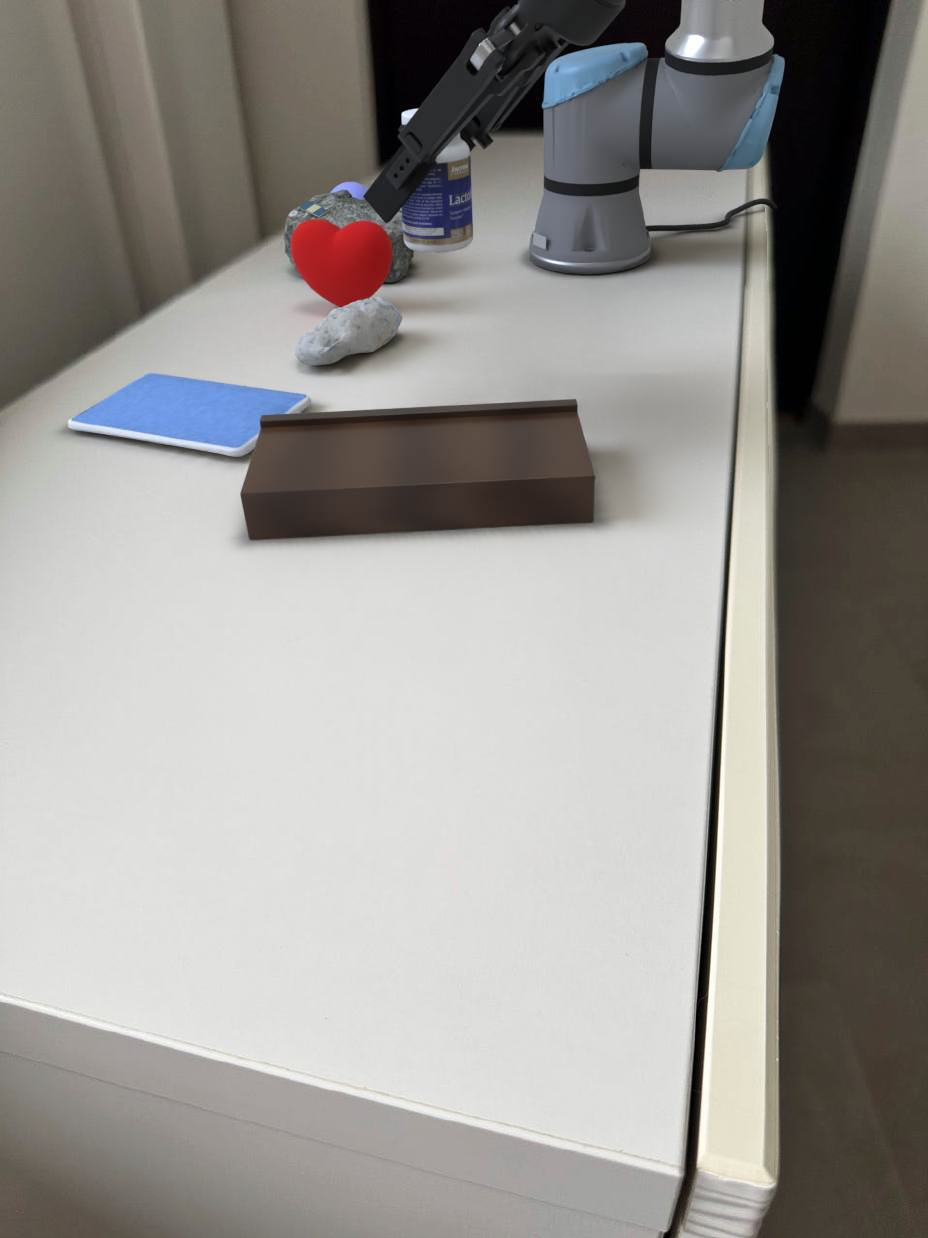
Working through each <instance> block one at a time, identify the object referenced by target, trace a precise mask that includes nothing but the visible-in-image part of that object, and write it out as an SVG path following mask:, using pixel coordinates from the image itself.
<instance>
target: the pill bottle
mask: <svg viewBox="0 0 928 1238" xmlns="http://www.w3.org/2000/svg"><path fill="white" fill-rule="evenodd" d="M418 109H419V107H418V108H412V109H407V110H404V111H402V112H401V125H402V124H405V125H406V124H407V123H408V122H409V120H410V119H411V118H412V116H413V115H414V114H415V112H416V111H417V110H418ZM436 158H437V159H436V160H435V161H436V162H437V164H436V165H435V167H434V168H433V169H432V170H431V172H430V173H429V174H428V175H427V176H426V178H425V179H424V180H423V181H422V183H421V184H420V185H419V186H418V188H417V189H416V190H415V191H414V193H413V194H412V195H411V196H410V198H409V199H408V200H407V201H406V203H405V204H404V205H403V206H402V208H401V211H402V222H403V237H404V242H405V244H406V246H407V247H408V248H410V249H412V250H414V251H415V252H417V253H418V252H419V253H427V254H443V253H451V252H455V251H456V252H457V251H459V250H462V249H465V248H467V247H469V246H470V245H471V244H472V242H473V240H474V223H473V222H474V220H473V219H474V218H473V195H472V194H473V193H472V191H473V190H472V189H473V188H472V167H471V166H472V165H471V162H472V161H471V152H470V149H469V147H468V145H467V143H466V142H465V141H463V140H462V139H461V138H460V132H459V133H458V135H457V136H456V137H455V138H454V139H453V140H452V141H451V142H450V143H449V144H448V145H447V146H446V148H445V149H444V150H443V151H442V152H441V153H440V154H439V155H438V156H437V157H436Z"/></svg>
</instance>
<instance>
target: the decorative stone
mask: <svg viewBox="0 0 928 1238" xmlns="http://www.w3.org/2000/svg"><path fill="white" fill-rule="evenodd" d="M403 319H404V318H403V315H402V314H401V312H400V311H399V310H398V308H396V306H394V304H393V303H392V302H391V301H389V300H385V299H384V298H383V297H379V296H371V297H370V298H369V299H368V298H367V299H363V300H358V301H356V302H352V303H350V304H348V305H346V306H344V307H341V308H340V307H338V306H337V307H335V308H333V309H332V310H331V311H330V312H329V313H328V315H327V316H326V317H325V318H324V320H323V321H322V322H320V324H318V325H317V326H316V327H315V329H313V330H312V331H310V332H307V333H305V334H304V335H302V336H301V337H299V339H298V341H297V345H296V347H295V358H296V359H297V361H299V362H300V363H303V364H308V365H312V366H320V365H321V366H322V365H323V366H325V365H332V364H336V363H338V362H339V361H340V360H341V359H343V358H344V357H346V356H350V355H356V354H360V353H363V354H367V353H368V354H369V353H374V352H376V350H378V349H380V348H381V347H383V346H384V345H386V344H387V343H389V342H390V341H391V340H392V339H393V337H395V336H396V335H397V333H398V331H399V328H400V325H401V324H402V322H403Z"/></svg>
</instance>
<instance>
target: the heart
mask: <svg viewBox="0 0 928 1238" xmlns="http://www.w3.org/2000/svg"><path fill="white" fill-rule="evenodd" d="M291 253H292V257H293V260H294V263H295V265H296V268H297V270H298V271H299V273H300V274H299V273H298V274H299V275H300V277H301V278H302V279H303V280H304V282H305V283H306V284H307V286H309V288H310V289H311V290H312V291H313V292H315V293H316V294H317V295H318V296H320V297H321V298H323V299H324V300H326V301H327V302H329V303H331V304H333V305H334V306H336V307H337V308H338V307H339V308H341V307H344V306H346V305H348V304H350V303H352V302H356V301H358V300H363V299H367V298H368V299H369V298H371V297H373V296H374V295H375V294H376V293H377V292H378V290H379V289H380V288H381V287H382V286H383V284H384V283H385V282H384V281H385V279H386V277H387V275H388V273H389V270H390V267H391V262H392V245H391V241H390V238H389V236H388V234H387V233H386V231H385V230H384V229H383V228H382V227H381V226H380V225H378V224H376V223H374V222H371V221H364V220H363V221H355V222H352V223H350V224H348V225H346V226H345V227H343V228H342V229H341V228H339V227H338V226H336V225H334V224H332V223H330V222H328V221H325V220H320V219H311V220H307V221H304V222H302V223H301V224H299V225H298V226H297V227H296V229H295V230H294V232H293V234H292V238H291Z"/></svg>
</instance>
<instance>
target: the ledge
mask: <svg viewBox="0 0 928 1238" xmlns="http://www.w3.org/2000/svg"><path fill="white" fill-rule="evenodd" d="M260 427H261V429H260V432H259V435H258V438H257V442H256V445H255V448H254V449H253V450H252V455H251V458H250V462H249V464H248V468H247V470H246V474H245V477H244V480H243V483H242V486H241V490H240V494H239V495H240V500H241V504H242V511H243V515H244V521H245V525H246V530H247V531H246V532H247V536H248V540H271V539H289V538H290V539H292V538H309V537H328V536H329V537H330V536H349V535H367V534H387V533H406V532H407V533H409V532H423V531H424V532H426V531H428V532H429V531H446V530H447V531H448V530H464V529H465V530H467V529H484V528H485V529H487V528H505V527H506V528H507V527H525V526H527V527H528V526H542V525H543V526H544V525H562V524H563V525H564V524H566V525H567V524H582V523H583V524H584V523H593V522H594V519H595V518H594V517H595V515H594V514H595V492H596V490H595V489H596V473H595V470H594V467H593V462H592V459H591V455H590V452H589V448H588V444H587V440H586V437H585V433H584V429H583V426H582V423H581V419H580V416H579V405H578V401H577V398H569V399H568V398H567V399H566V398H565V399H549V400H548V399H547V400H531V401H529V400H527V401H509V402H490V403H488V402H487V403H471V404H451V405H431V406H412V407H396V408H395V407H392V408H375V409H372V408H371V409H357V410H356V409H355V410H354V409H353V410H336V411H335V410H333V411H318V412H301V413H295V414H275V415H262V416H261V418H260Z"/></svg>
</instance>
